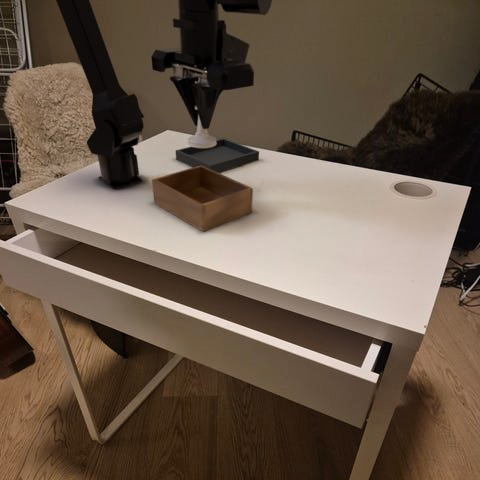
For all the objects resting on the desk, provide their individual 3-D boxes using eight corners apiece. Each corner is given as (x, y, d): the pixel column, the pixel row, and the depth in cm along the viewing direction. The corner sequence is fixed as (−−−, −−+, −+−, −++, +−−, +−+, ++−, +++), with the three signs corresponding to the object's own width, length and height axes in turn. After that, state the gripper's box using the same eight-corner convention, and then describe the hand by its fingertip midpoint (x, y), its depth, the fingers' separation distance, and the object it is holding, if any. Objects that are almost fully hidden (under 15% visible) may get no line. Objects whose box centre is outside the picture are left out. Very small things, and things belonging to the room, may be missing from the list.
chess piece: (183, 140, 72) (179, 74, 65) (209, 137, 73) (208, 72, 67) (194, 149, 68) (191, 81, 62) (221, 146, 70) (221, 79, 64)
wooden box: (202, 231, 68) (201, 206, 65) (154, 203, 76) (151, 179, 73) (251, 212, 74) (252, 188, 71) (202, 187, 82) (201, 165, 79)
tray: (210, 175, 87) (210, 165, 85) (176, 159, 93) (175, 150, 92) (258, 160, 94) (259, 151, 93) (223, 146, 101) (223, 138, 100)
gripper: (285, 14, 58) (275, 132, 68) (203, 4, 68) (205, 108, 78) (224, 17, 52) (223, 145, 62) (144, 6, 63) (155, 117, 73)
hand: (201, 127), depth 69 cm, fingers closed on chess piece
